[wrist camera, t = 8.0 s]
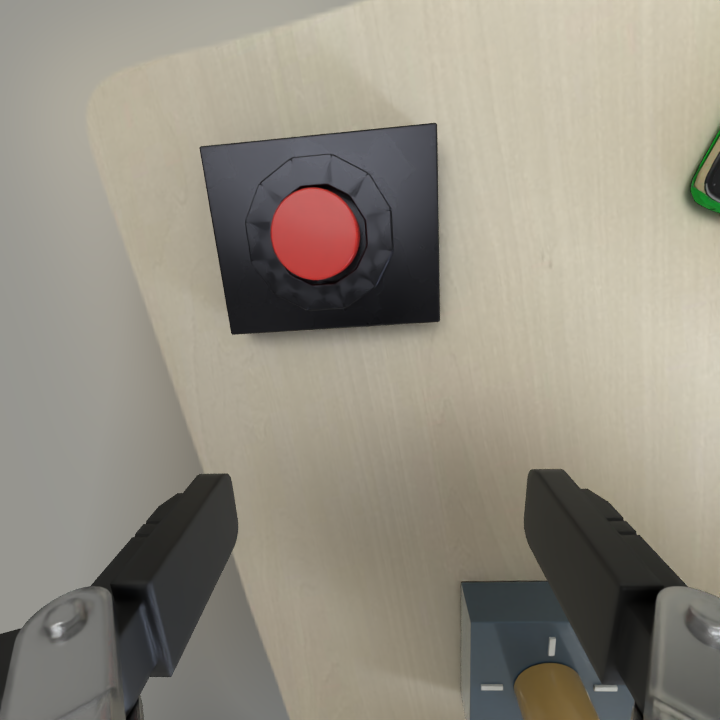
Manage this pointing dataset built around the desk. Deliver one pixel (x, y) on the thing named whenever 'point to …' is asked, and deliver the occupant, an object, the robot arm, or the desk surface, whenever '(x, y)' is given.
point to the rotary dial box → (521, 649)
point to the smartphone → (708, 178)
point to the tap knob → (553, 694)
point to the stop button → (315, 233)
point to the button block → (366, 200)
